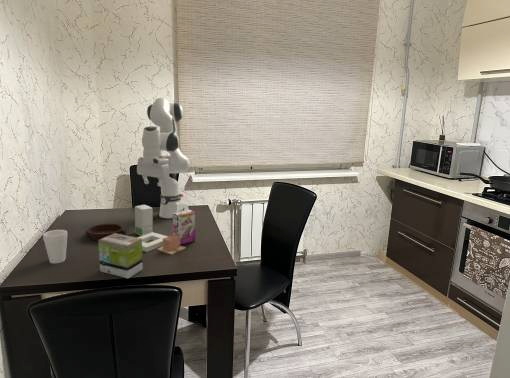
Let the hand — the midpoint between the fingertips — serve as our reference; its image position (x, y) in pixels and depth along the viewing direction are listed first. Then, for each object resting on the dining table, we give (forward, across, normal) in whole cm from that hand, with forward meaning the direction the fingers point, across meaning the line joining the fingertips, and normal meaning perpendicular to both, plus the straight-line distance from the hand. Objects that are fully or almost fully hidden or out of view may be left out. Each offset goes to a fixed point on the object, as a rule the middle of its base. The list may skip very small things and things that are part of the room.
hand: (153, 184), depth 189 cm
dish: (+30, -22, -14) cm, 40 cm away
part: (+28, +19, -7) cm, 35 cm away
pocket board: (+29, +5, -8) cm, 31 cm away
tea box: (+29, +19, -37) cm, 51 cm away
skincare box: (+29, -9, +1) cm, 31 cm away
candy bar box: (+29, +18, +4) cm, 35 cm away
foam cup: (+29, -13, -46) cm, 56 cm away
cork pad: (+29, +19, -7) cm, 35 cm away
